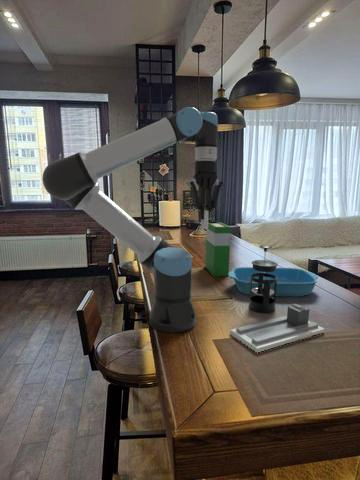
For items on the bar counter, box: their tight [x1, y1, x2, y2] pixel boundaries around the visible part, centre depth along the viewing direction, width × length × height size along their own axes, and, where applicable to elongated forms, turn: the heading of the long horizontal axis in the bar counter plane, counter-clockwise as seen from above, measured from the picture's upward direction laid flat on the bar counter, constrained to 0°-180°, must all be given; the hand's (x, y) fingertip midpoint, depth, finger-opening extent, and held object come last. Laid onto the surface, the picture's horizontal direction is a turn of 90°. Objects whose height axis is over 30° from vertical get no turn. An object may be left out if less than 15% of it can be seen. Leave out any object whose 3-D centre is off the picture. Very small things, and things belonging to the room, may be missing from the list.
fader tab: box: [286, 303, 310, 326], centre depth 98 cm, size 4×4×6 cm
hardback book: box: [204, 221, 231, 277], centre depth 159 cm, size 18×7×24 cm, turn 9°
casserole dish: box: [228, 266, 319, 297], centre depth 135 cm, size 37×22×7 cm, turn 88°
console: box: [229, 315, 325, 354], centre depth 95 cm, size 26×12×2 cm, turn 117°
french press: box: [248, 244, 279, 314], centre depth 112 cm, size 12×9×23 cm
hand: (204, 228), depth 113 cm, fingers closed
